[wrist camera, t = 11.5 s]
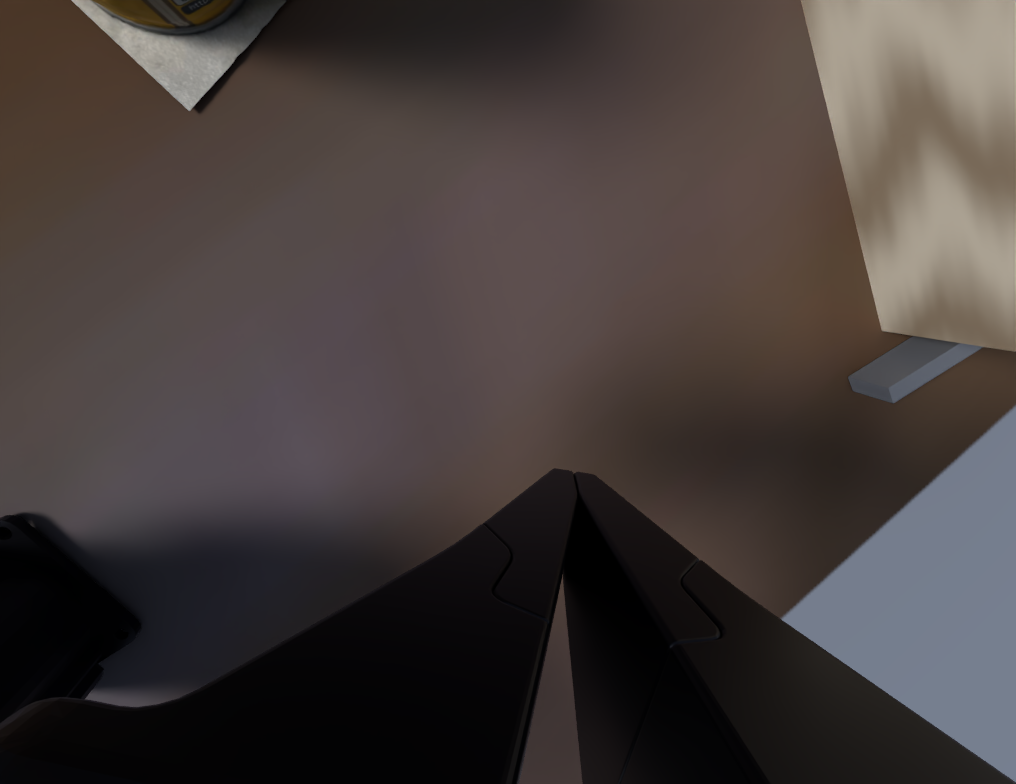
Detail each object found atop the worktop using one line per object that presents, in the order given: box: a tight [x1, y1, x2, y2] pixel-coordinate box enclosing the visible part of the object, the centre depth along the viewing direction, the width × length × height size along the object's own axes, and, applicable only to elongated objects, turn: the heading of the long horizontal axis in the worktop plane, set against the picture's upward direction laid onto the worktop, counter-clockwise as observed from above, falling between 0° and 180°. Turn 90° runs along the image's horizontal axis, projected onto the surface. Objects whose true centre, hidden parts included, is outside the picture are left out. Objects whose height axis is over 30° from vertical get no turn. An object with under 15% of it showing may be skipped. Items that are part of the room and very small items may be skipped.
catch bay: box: [848, 336, 983, 403], centre depth 16 cm, size 11×20×6 cm, turn 31°
